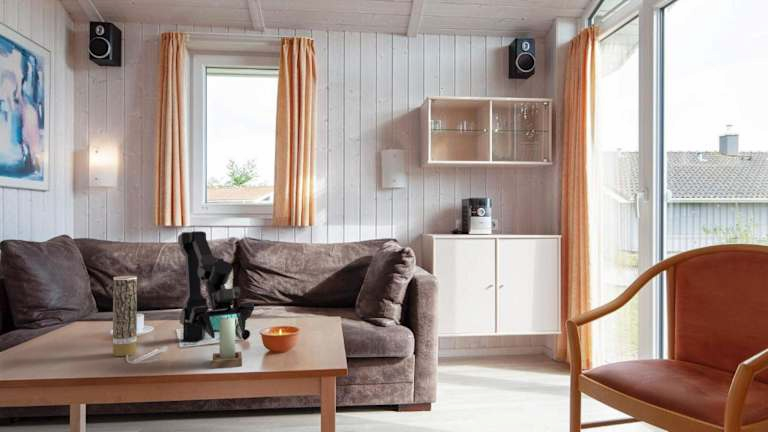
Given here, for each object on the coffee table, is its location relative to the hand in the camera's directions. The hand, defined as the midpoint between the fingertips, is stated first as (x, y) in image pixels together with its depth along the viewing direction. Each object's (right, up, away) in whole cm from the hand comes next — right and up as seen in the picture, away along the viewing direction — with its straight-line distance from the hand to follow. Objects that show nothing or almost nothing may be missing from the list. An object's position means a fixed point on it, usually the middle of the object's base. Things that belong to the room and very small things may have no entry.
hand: (229, 335), depth 151 cm
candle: (-1, -8, +1) cm, 8 cm away
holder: (-1, -9, +1) cm, 9 cm away
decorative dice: (-17, -9, +47) cm, 51 cm away
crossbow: (-28, -9, +8) cm, 31 cm away
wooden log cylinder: (-37, -9, +10) cm, 39 cm away
